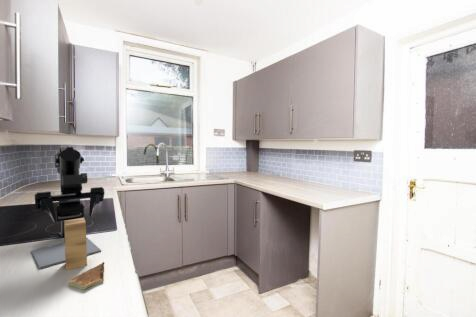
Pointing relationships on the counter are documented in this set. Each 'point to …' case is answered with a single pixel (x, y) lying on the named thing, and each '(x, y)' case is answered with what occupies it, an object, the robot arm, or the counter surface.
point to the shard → (89, 277)
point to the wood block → (75, 243)
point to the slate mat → (58, 254)
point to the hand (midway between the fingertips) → (73, 219)
